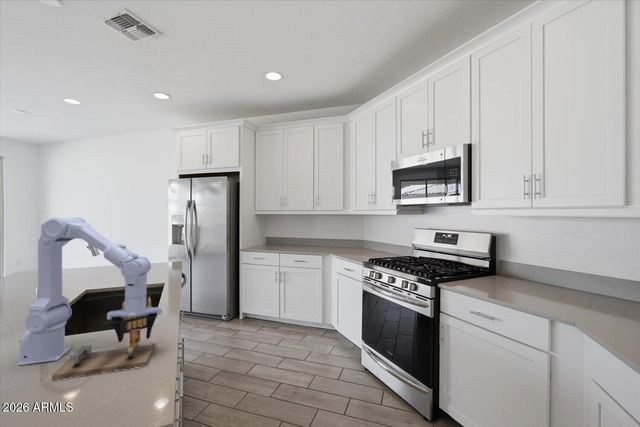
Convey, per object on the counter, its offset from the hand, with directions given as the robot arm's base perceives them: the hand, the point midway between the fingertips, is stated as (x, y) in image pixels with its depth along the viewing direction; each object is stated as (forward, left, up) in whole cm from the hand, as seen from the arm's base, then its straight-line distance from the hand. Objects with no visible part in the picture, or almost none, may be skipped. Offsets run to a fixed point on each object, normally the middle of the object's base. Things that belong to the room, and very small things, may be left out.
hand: (134, 339), depth 89 cm
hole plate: (-6, -2, -5) cm, 8 cm away
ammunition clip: (-5, +24, -6) cm, 25 cm away
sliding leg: (0, -2, -4) cm, 4 cm away
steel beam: (-6, +1, -4) cm, 7 cm away
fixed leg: (-13, -2, -4) cm, 14 cm away
